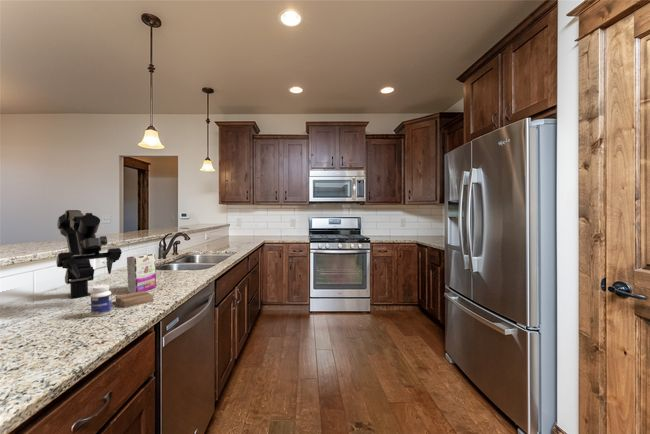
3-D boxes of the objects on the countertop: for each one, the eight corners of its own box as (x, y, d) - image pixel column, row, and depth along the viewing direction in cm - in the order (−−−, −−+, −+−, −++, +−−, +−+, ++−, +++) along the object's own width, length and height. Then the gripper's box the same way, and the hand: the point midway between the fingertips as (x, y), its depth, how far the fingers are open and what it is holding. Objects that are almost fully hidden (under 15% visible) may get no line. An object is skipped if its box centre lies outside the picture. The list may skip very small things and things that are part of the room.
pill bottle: (89, 318, 96) (88, 289, 96) (93, 312, 101) (93, 285, 101) (109, 315, 98) (109, 287, 98) (113, 310, 104) (112, 283, 103)
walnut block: (115, 302, 112) (115, 296, 112) (143, 296, 120) (143, 290, 120) (124, 307, 106) (123, 301, 106) (153, 301, 114) (153, 295, 114)
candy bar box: (147, 286, 135) (147, 253, 135) (156, 287, 134) (155, 253, 134) (126, 293, 124) (126, 256, 124) (136, 294, 123) (135, 257, 123)
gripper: (57, 230, 99) (64, 268, 93) (120, 228, 114) (129, 260, 108) (53, 248, 105) (59, 285, 99) (114, 244, 119) (122, 275, 113)
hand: (94, 275), depth 104 cm, fingers open, 9 cm apart
